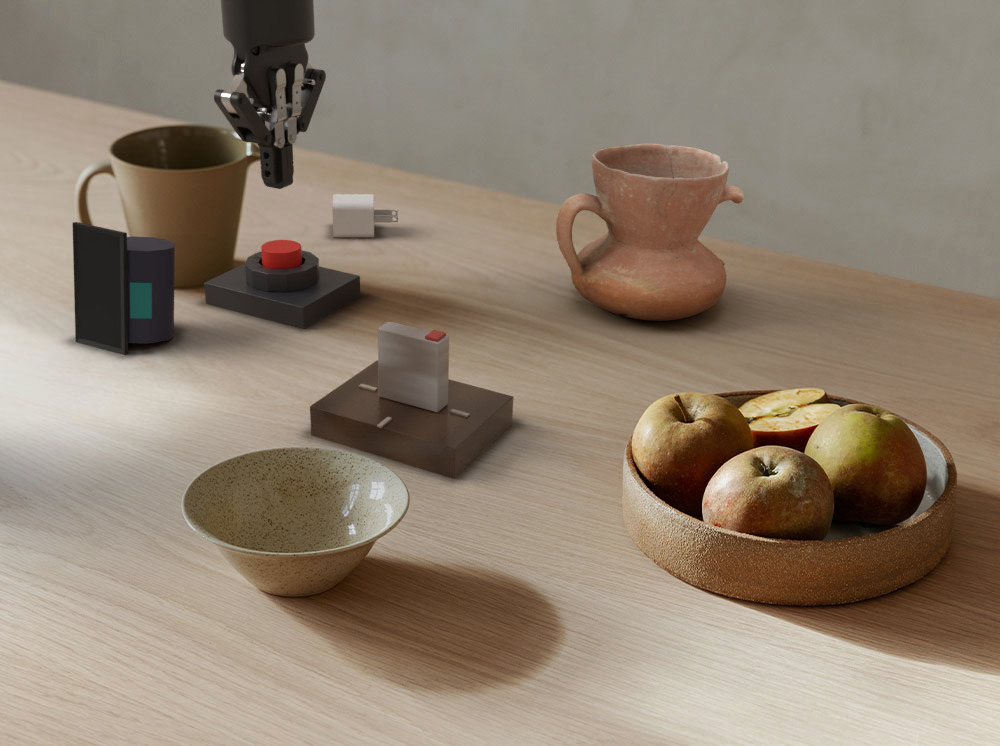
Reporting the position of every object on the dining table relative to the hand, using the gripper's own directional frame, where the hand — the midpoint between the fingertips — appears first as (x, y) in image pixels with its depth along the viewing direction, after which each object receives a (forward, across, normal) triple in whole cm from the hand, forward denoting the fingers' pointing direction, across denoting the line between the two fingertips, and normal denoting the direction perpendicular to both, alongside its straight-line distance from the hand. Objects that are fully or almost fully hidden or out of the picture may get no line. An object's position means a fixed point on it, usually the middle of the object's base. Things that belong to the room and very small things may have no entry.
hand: (278, 185), depth 98 cm
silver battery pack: (+8, +15, +23) cm, 29 cm away
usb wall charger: (+11, -20, -4) cm, 23 cm away
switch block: (+11, 0, 0) cm, 11 cm away
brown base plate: (+11, +15, +23) cm, 30 cm away
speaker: (+11, +13, -6) cm, 18 cm away
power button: (+7, 0, 0) cm, 7 cm away
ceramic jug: (+11, -17, +29) cm, 35 cm away
